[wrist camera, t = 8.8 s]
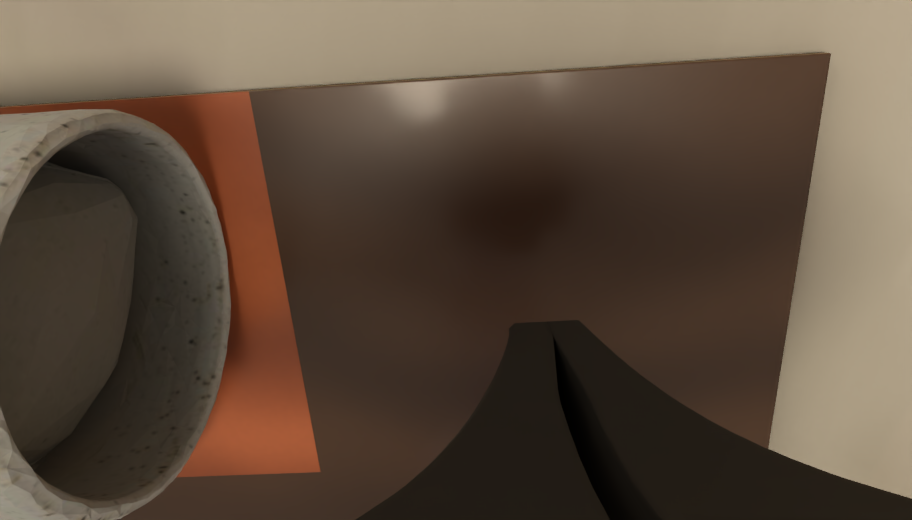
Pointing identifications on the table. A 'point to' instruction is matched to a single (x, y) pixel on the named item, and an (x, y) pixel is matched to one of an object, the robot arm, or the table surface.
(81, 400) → the ceramic mug
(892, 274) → the table surface
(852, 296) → the table surface
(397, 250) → the walnut board
